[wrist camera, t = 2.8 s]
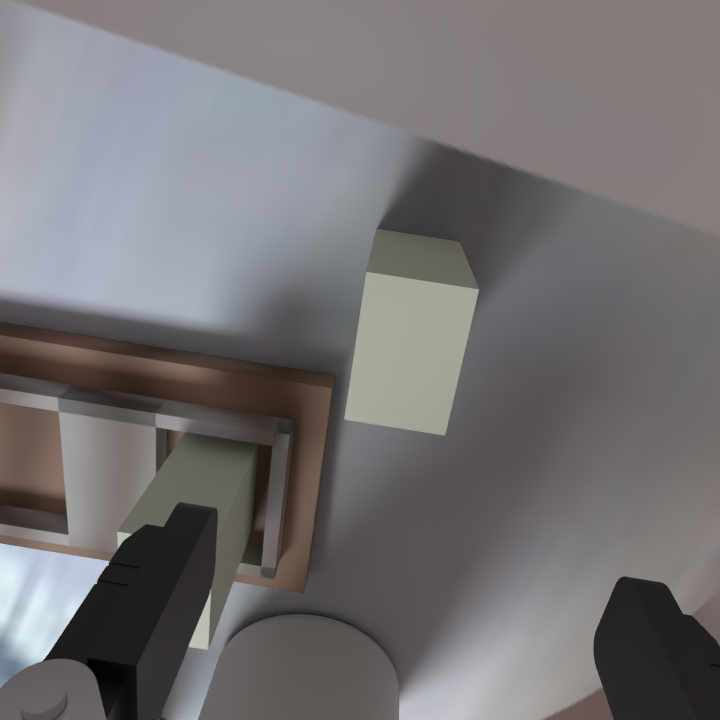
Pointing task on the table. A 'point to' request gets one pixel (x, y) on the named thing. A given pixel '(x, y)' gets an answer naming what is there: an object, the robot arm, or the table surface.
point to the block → (212, 489)
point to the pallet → (169, 381)
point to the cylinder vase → (302, 673)
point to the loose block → (411, 332)
